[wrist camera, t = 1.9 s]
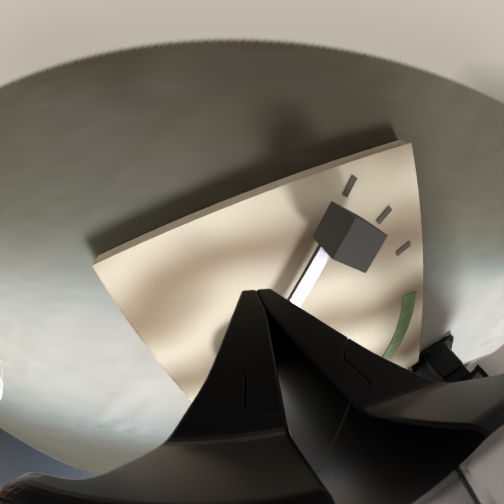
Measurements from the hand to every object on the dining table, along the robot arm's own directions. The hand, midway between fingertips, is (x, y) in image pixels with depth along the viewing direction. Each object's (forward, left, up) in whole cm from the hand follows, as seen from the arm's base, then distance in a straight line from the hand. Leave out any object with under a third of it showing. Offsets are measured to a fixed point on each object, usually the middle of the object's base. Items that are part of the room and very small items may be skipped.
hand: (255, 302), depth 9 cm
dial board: (-11, -2, -11) cm, 15 cm away
